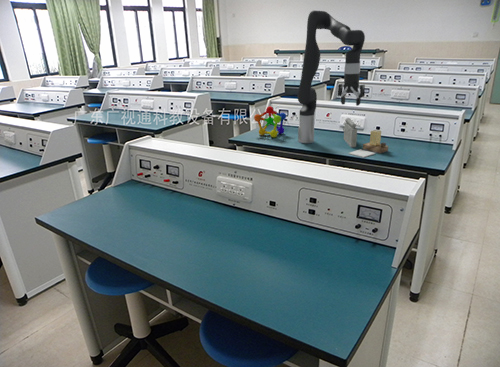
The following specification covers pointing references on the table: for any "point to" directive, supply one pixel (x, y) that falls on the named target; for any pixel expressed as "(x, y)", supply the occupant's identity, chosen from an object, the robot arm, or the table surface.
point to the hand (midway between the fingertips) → (350, 104)
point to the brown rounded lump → (376, 148)
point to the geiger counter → (350, 132)
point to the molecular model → (271, 122)
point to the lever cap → (375, 138)
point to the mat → (361, 153)
